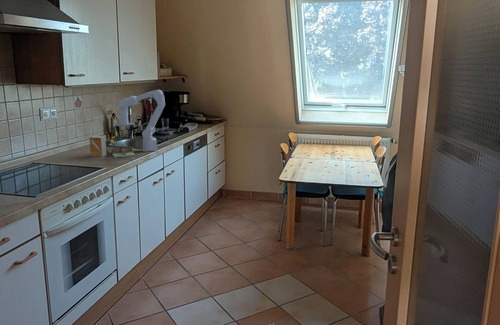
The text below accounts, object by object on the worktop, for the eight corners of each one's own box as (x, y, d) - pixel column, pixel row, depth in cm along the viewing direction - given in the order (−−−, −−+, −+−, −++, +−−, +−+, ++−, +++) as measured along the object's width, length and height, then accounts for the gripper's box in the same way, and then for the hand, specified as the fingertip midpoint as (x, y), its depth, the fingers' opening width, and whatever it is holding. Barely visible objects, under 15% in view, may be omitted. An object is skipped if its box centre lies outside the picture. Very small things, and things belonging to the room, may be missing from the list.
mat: (133, 153, 282) (133, 153, 282) (135, 156, 274) (135, 155, 274) (112, 155, 277) (112, 154, 277) (113, 158, 269) (113, 157, 269)
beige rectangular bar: (113, 142, 299) (113, 139, 299) (115, 144, 288) (115, 142, 288) (110, 142, 298) (110, 140, 298) (112, 145, 288) (112, 142, 287)
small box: (90, 156, 273) (89, 137, 270) (95, 154, 280) (93, 135, 277) (102, 156, 272) (100, 137, 270) (106, 154, 279) (105, 135, 276)
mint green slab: (132, 153, 282) (132, 147, 281) (134, 155, 275) (134, 149, 274) (112, 155, 276) (112, 149, 275) (114, 157, 269) (114, 151, 268)
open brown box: (130, 150, 292) (130, 144, 291) (132, 153, 282) (132, 147, 281) (111, 152, 287) (111, 145, 286) (113, 155, 277) (112, 148, 276)
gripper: (133, 116, 293) (134, 134, 296) (112, 117, 288) (113, 136, 291) (135, 117, 287) (136, 136, 290) (113, 118, 281) (114, 137, 284)
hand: (125, 136), depth 290 cm, fingers open, 7 cm apart
